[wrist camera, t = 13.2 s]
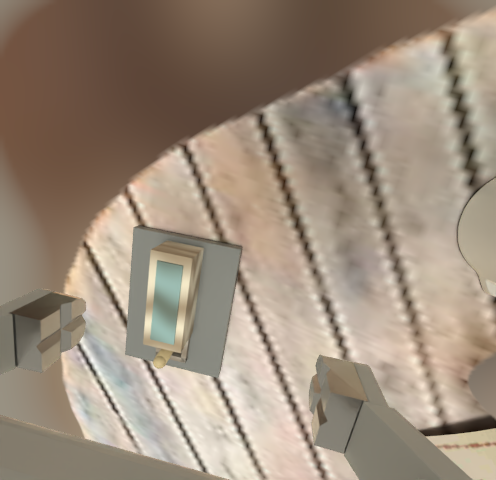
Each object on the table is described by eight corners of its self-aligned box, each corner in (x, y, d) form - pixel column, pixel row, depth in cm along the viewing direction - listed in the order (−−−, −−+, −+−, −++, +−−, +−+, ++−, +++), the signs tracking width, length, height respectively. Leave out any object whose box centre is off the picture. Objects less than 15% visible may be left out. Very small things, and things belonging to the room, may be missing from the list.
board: (242, 246, 38) (233, 263, 31) (220, 371, 44) (208, 409, 37) (139, 225, 40) (107, 236, 33) (130, 349, 45) (101, 381, 38)
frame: (167, 240, 38) (149, 250, 33) (204, 247, 38) (191, 259, 33) (156, 351, 43) (139, 374, 38) (188, 359, 42) (176, 383, 37)
